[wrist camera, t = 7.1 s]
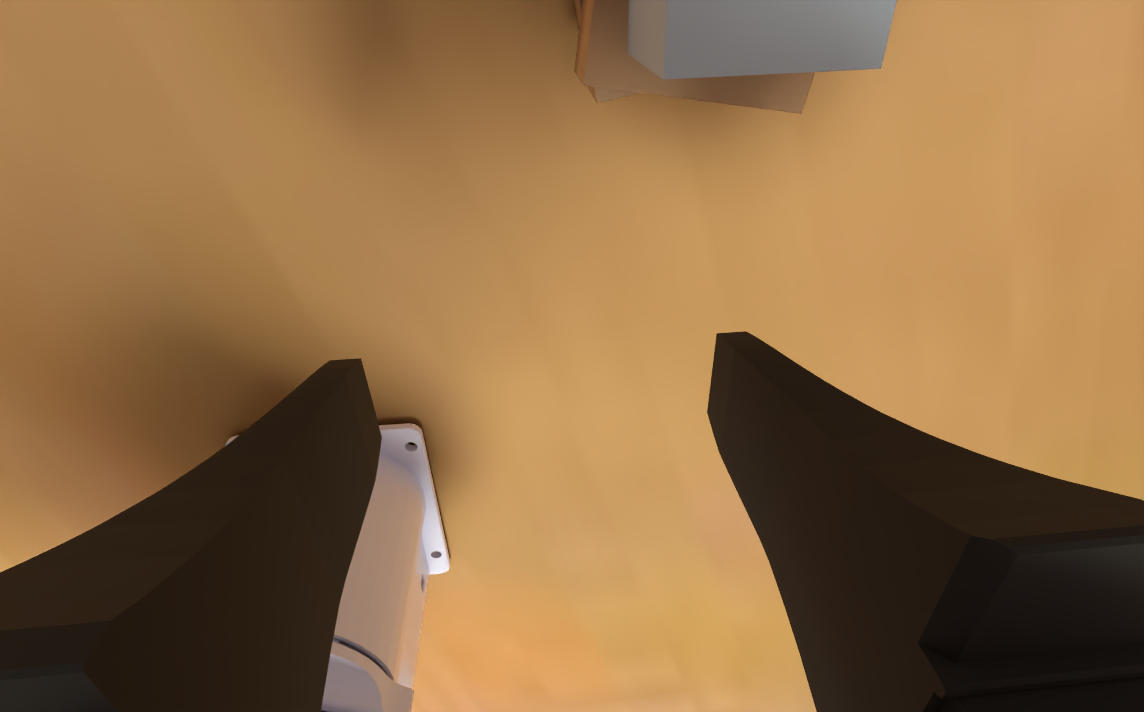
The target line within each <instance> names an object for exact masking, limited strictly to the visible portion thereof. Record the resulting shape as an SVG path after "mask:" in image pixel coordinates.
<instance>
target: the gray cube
mask: <svg viewBox="0 0 1144 712" xmlns="http://www.w3.org/2000/svg"><path fill="white" fill-rule="evenodd" d="M896 1H897V0H629V13H628V55H630V56H631V57H633V58H634V59H635V60H637V61H638V62H640V63H641V64H642V65H644V66H645V67H647V68H648V69H649V70H651V71H652V72H654V73H655V74H656V75H658V76H659V77H660V78H662V79H683V78H703V77H723V76H744V75H764V74H784V73H804V72H824V71H844V70H864V69H881V67H882V63H883V58H884V54H885V49H886V45H887V41H888V36H889V32H890V27H891V23H892V19H893V14H894V10H895V5H896Z"/></svg>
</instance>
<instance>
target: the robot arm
mask: <svg viewBox="0 0 1144 712" xmlns="http://www.w3.org/2000/svg"><path fill="white" fill-rule="evenodd" d="M707 413H708V417H709V420H710V424H711V427H712V430H713V434H714V437H715V440H716V443H717V447H718V450H719V453H720V455H721V457H722V459H723V462H724V464H725V466H726V468H727V470H728V473H729V475H730V477H731V479H732V481H733V483H734V486H735V488H736V490H737V492H738V494H739V496H740V498H741V500H742V502H743V505H744V507H745V509H746V511H747V513H748V515H749V517H750V519H751V521H752V524H753V526H754V528H755V530H756V532H757V534H758V536H759V538H760V541H761V543H762V545H763V548H764V550H765V552H766V555H767V557H768V560H769V562H770V565H771V568H772V571H773V574H774V577H775V580H776V582H777V585H778V588H779V591H780V594H781V597H782V600H783V603H784V606H785V609H786V612H787V615H788V618H789V621H790V624H791V628H792V631H793V634H794V637H795V640H796V643H797V646H798V650H799V653H800V656H801V659H802V663H803V666H804V670H805V673H806V676H807V680H808V683H809V687H810V690H811V693H812V697H813V700H814V704H815V707H816V710H817V712H1144V501H1143V500H1141V499H1137V498H1133V497H1129V496H1125V495H1121V494H1117V493H1113V492H1109V491H1105V490H1101V489H1097V488H1093V487H1089V486H1085V485H1081V484H1077V483H1073V482H1069V481H1065V480H1061V479H1057V478H1054V477H1050V476H1047V475H1044V474H1040V473H1037V472H1034V471H1030V470H1027V469H1024V468H1021V467H1017V466H1014V465H1011V464H1008V463H1005V462H1002V461H999V460H996V459H993V458H990V457H987V456H984V455H981V454H978V453H976V452H973V451H970V450H968V449H965V448H962V447H960V446H957V445H955V444H952V443H949V442H947V441H944V440H941V439H939V438H937V437H934V436H932V435H929V434H927V433H925V432H922V431H920V430H918V429H915V428H913V427H911V426H909V425H907V424H905V423H902V422H900V421H898V420H896V419H894V418H892V417H890V416H887V415H885V414H883V413H881V412H879V411H877V410H875V409H873V408H871V407H870V406H868V405H866V404H864V403H862V402H860V401H859V400H857V399H855V398H853V397H851V396H850V395H848V394H846V393H844V392H842V391H841V390H839V389H837V388H836V387H834V386H832V385H831V384H829V383H827V382H825V381H824V380H822V379H821V378H819V377H817V376H816V375H814V374H813V373H811V372H809V371H808V370H806V369H805V368H803V367H802V366H800V365H798V364H797V363H795V362H794V361H792V360H791V359H789V358H788V357H786V356H785V355H783V354H782V353H780V352H779V351H777V350H775V349H774V348H772V347H771V346H769V345H768V344H766V343H765V342H763V341H762V340H760V339H758V338H757V337H755V336H753V335H751V334H750V333H748V332H731V333H717V336H716V344H715V352H714V361H713V369H712V377H711V386H710V394H709V402H708V411H707ZM409 442H413V443H415V444H416V445H410V444H408V443H409ZM437 551H438V552H437ZM449 567H450V558H449V554H448V549H447V544H446V540H445V535H444V530H443V526H442V521H441V517H440V512H439V507H438V503H437V498H436V493H435V489H434V484H433V479H432V475H431V470H430V465H429V461H428V456H427V451H426V447H425V442H424V437H423V433H422V430H421V428H420V427H419V426H417V425H415V424H410V423H406V424H392V425H378V421H377V417H376V413H375V410H374V406H373V402H372V398H371V395H370V391H369V387H368V383H367V380H366V376H365V372H364V368H363V365H362V361H361V358H360V359H345V360H331V361H329V362H327V363H326V364H325V365H323V366H322V367H321V368H319V369H318V370H317V371H316V372H315V373H313V374H312V375H311V376H310V377H309V378H308V379H306V380H305V381H304V382H303V383H302V384H301V385H299V386H298V387H297V388H296V389H295V390H294V391H293V392H291V393H290V394H289V395H288V396H287V397H286V398H284V399H283V400H282V401H281V402H280V403H278V404H277V405H276V406H275V407H274V408H273V409H271V410H270V411H269V412H268V413H267V414H265V415H264V416H263V417H262V418H261V419H259V420H258V421H257V422H256V423H254V424H253V425H252V426H250V427H249V428H248V429H247V430H245V431H244V432H243V433H241V434H240V435H237V436H232V437H231V438H230V439H229V440H228V442H227V443H226V445H225V447H223V448H222V449H221V450H220V451H218V452H217V453H215V454H214V455H213V456H211V457H210V458H209V459H207V460H206V461H204V462H203V463H201V464H200V465H198V466H197V467H196V468H194V469H193V470H191V471H189V472H188V473H186V474H185V475H183V476H182V477H180V478H179V479H177V480H176V481H174V482H173V483H171V484H169V485H168V486H166V487H165V488H163V489H161V490H160V491H158V492H157V493H155V494H153V495H151V496H150V497H148V498H146V499H144V500H143V501H141V502H139V503H137V504H136V505H134V506H132V507H130V508H128V509H127V510H125V511H123V512H121V513H120V514H118V515H116V516H114V517H113V518H111V519H109V520H107V521H105V522H104V523H102V524H100V525H98V526H96V527H94V528H93V529H91V530H89V531H87V532H85V533H83V534H81V535H79V536H77V537H75V538H73V539H71V540H69V541H67V542H65V543H63V544H61V545H59V546H57V547H55V548H52V549H50V550H48V551H46V552H44V553H42V554H40V555H38V556H36V557H33V558H31V559H29V560H27V561H25V562H23V563H21V564H18V565H16V566H14V567H12V568H9V569H7V570H5V571H3V572H0V712H411V708H412V701H413V693H414V691H413V689H412V686H413V682H414V677H415V670H416V663H417V656H418V649H419V642H420V635H421V628H422V621H423V613H424V606H425V599H426V592H427V585H428V578H429V574H441V573H445V572H446V571H448V570H449Z"/></svg>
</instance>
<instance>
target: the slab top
mask: <svg viewBox="0 0 1144 712" xmlns="http://www.w3.org/2000/svg"><path fill="white" fill-rule="evenodd" d="M628 13H629V0H583V4H582V13H581V21H580V29H579V37H578V46H577V54H576V62H575V73H576V74H577V76H578V78H579V79H580V81H581V83H582V84H583V85H586V86H593V87H601V88H609V89H616V90H624V91H631V92H639V93H647V94H654V95H662V96H670V97H677V98H685V99H693V100H700V101H708V102H716V103H723V104H731V105H739V106H746V107H754V108H761V109H769V110H777V111H784V112H792V113H800V114H801V113H802V110H803V107H804V104H805V101H806V98H807V95H808V91H809V88H810V85H811V82H812V79H813V76H814V72H804V73H784V74H764V75H744V76H723V77H703V78H683V79H662V78H660V77H659V76H658V75H656V74H655V73H654V72H652V71H651V70H649V69H648V68H647V67H645V66H644V65H642V64H641V63H640V62H638V61H637V60H635V59H634V58H633V57H631V56H630V55H628Z"/></svg>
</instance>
